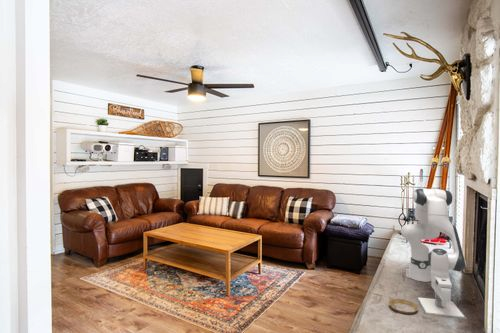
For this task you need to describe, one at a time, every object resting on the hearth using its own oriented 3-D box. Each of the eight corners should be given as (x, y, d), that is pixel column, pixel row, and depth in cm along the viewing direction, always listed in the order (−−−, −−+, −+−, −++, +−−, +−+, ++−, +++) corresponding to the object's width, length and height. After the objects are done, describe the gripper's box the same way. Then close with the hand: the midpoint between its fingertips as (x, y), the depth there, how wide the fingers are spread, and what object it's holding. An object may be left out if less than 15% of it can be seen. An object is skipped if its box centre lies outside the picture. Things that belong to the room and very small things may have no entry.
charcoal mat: (415, 298, 178) (415, 297, 178) (453, 302, 172) (453, 301, 172) (424, 314, 159) (424, 314, 159) (467, 319, 153) (467, 319, 153)
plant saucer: (408, 302, 174) (408, 298, 173) (423, 315, 159) (423, 311, 159) (384, 303, 173) (384, 299, 173) (397, 317, 158) (397, 312, 158)
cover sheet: (417, 298, 177) (417, 290, 177) (451, 301, 172) (451, 294, 172) (426, 313, 160) (426, 305, 160) (464, 317, 155) (464, 309, 154)
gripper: (428, 271, 176) (428, 293, 176) (439, 284, 156) (440, 310, 156) (440, 272, 174) (440, 294, 174) (453, 285, 155) (453, 311, 155)
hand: (440, 302), depth 165 cm, fingers open, 8 cm apart
